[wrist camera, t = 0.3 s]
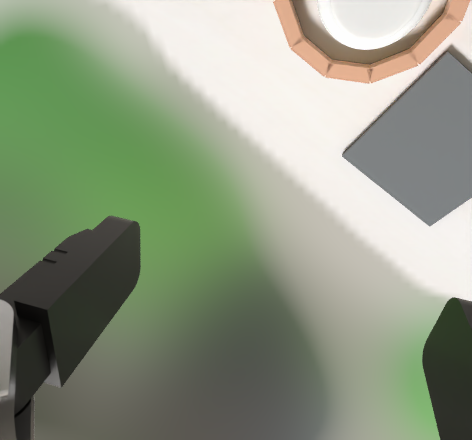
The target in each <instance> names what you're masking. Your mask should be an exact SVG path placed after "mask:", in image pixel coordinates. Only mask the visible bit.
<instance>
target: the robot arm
mask: <svg viewBox="0 0 472 440" xmlns="http://www.w3.org/2000/svg"><path fill="white" fill-rule="evenodd" d="M139 274H140V226H139V224H138V222H136V221H131V220H127V219H123V218H119V217H114V216H108V217H107V218H106V219H104V220H103V221H102V222H101V223H100V224H99V225H98V226H97V227H95V228H94V229H93V230H89V229H86V230H83V231H81V232H79V233H77V234H74V235H72V236H69V237H68V238H67V239H65V240H64V241H63V242H62V243H61V244H59V245H58V246H57V247H56V248H55V250H54V251H51V252H50V253H49V254H47V255H46V256H45V257H44V258H43V261H39V262H38V263H37V264H36V265H34V266H33V267H32V268H31V269H29V270H28V271H27V272H26V273H25V274H23V275H22V276H21V277H20V278H19V279H18V280H16V281H15V282H14V283H13V284H12V285H10V286H9V287H8V288H7V289H6V290H4V291H3V292H2V293H1V294H0V440H34V426H35V424H34V419H35V411H34V410H35V401H34V394H35V392H36V391H37V390H38V388H39V387H40V386H41V385H42V383H43V382H44V383H48V384H51V385H54V386H57V387H60V388H61V387H62V386H63V385H64V383H65V382H66V381H67V379H68V378H69V377H70V375H71V374H72V373H73V371H74V370H75V368H76V367H77V365H78V364H79V363H80V362H81V360H82V359H83V358H84V356H85V355H86V353H87V352H88V351H89V349H90V348H91V347H92V345H93V344H94V343H95V341H96V340H97V338H98V337H99V336H100V334H101V333H102V332H103V330H104V329H105V327H106V326H107V325H108V324H109V322H110V321H111V319H112V318H113V317H114V315H115V314H116V313H117V311H118V310H119V309H120V307H121V306H122V304H123V303H124V302H125V300H126V299H127V298H128V296H129V295H130V293H131V292H132V291H133V289H134V288H135V286H136V284H137V281H138V278H139ZM422 362H423V369H424V373H425V377H426V381H427V386H428V390H429V394H430V398H431V402H432V407H433V411H434V415H435V419H436V423H437V428H438V432H439V436H440V440H472V301H467V300H463V299H459V298H451V299H450V300H449V301H448V302H447V303H446V305H445V307H444V309H443V311H442V312H441V315H440V316H439V318H438V320H437V322H436V324H435V326H434V327H433V329H432V331H431V333H430V335H429V337H428V338H427V341H426V343H425V346H424V349H423V359H422Z"/></svg>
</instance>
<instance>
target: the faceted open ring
mask: <svg viewBox="0 0 472 440" xmlns="http://www.w3.org/2000/svg"><path fill="white" fill-rule="evenodd" d="M469 2H470V0H447V3H446V6H445V9H444V12H443V14H442V15H441V16H440V17H439V18H438V19H437V20H436V21H435V22H434V23H433V24H432V25H431V27H430V28H429V29H428V30H427V31H426V32H425V33H424V34H423V35H422V36H421V37H420V38H419V39H418V40H417V41H416V42H415V43H414V45H413V46H412V47H411V48H410V49H408V50H405V51H403V52H400V53H398V54H395V55H393V56H390V57H388V58H385V59H383V60H380V61H377V62H375V63H372V64H370V65H369V64H361V63H354V62H346V61H339V60H332V59H331V58H330V57H329V56H327V55H326V54H325V53H324V52H323V51H321V50H320V49H319V48H318V47H317V46H316V45H314V44H313V43H312V42H311V41H310V40H308V39H307V38H306V37H305V36H304V34H303V31H302V29H301V26H300V23H299V20H298V17H297V14H296V11H295V8H294V5H293V2H292V0H276V1H274V2H273V3H274V6H275V8H276V11H277V14H278V17H279V19H280V22H281V25H282V28H283V30H284V33H285V36H286V39H287V42H288V44H289V47H292V48H291V50H293V51H294V52H295V53H296V54H297V55H299V56H300V57H301V58H302V59H303V60H304V61H306V62H307V63H308V64H309V65H310V66H312V67H313V68H314V69H315V70H316V71H318V72H319V73H320V74H321V75H322V76H325V75H326V78H333V79H340V80H347V81H354V82H361V83H369V82H371V83H373V82H376V81H379V80H381V79H384V78H387V77H389V76H392V75H395V74H397V73H400V72H403V71H405V70H408V69H411V68H413V67H416V66H418V64H421V63H422V62H423V61H424V60H425V59H426V58H427V57H428V56H429V55H430V54H431V53H432V52H433V51H434V50H435V49H436V48H437V47H438V46H439V45H440V44H441V43H442V42H443V41H444V40H445V39H446V38H447V37H448V36H449V35H450V34H451V33H452V32H453V31H454V30H455V29H456V28H457V27H458V26H459V25H460V24H461V22H459V21H462V20H463V18H464V15H465V12H466V10H467V7H468V5H469Z"/></svg>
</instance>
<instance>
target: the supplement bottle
mask: <svg viewBox="0 0 472 440" xmlns="http://www.w3.org/2000/svg"><path fill="white" fill-rule="evenodd" d="M431 1H432V0H317V6H318V11H319V15H320V18H321V20H322V22H323V24H324V26H325V28H326V29H327V31H328V32H329V33H330V34H331V35H332V36H333V37H334V38H335V39H336V40H337V41H339V42H340V43H342V44H344V45H346V46H348V47H351V48H355V49H362V50H370V49H377V48H382V47H385V46H387V45H390V44H392V43H394V42H396V41H398V40H399V39H401V38H402V37H404V36H405V35H406V34H407V33H409V32H410V31H411V30H412V29H413V28H414V27H415V26H416V25H417V24H418V22H419V21H420V20H421V19H422V17H423V16H424V14H425V12H426V11H427V9H428V7H429V5H430V3H431Z"/></svg>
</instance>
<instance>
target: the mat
mask: <svg viewBox="0 0 472 440" xmlns="http://www.w3.org/2000/svg"><path fill="white" fill-rule="evenodd" d="M342 157H344V158H345V159H346V160H347V161H349V162H350V163H351V164H352V165H354V166H355V167H356V168H357V169H359V170H360V171H361V172H362V173H364V174H365V175H366V176H367V177H369V178H370V179H371V180H372V181H374V182H375V183H376V184H377V185H379V186H380V187H381V188H382V189H384V190H385V191H386V192H387V193H389V194H390V195H391V196H392V197H394V198H395V199H396V200H397V201H399V202H400V203H401V204H402V205H404V206H405V207H406V208H407V209H409V210H410V211H411V212H412V213H413V214H415V215H416V216H417V217H418V218H420V219H421V220H422V221H423V222H425V223H426V224H427V225H428V226H431V225H433V224H434V223H436V222H437V221H439V220H440V219H441V218H443V217H444V216H446V215H447V214H449V213H450V212H451V211H453V210H454V209H456V208H457V207H459V206H460V205H462V204H463V203H464V202H466V201H467V200H469V199H470V198H472V73H471V72H470V71H469V70H468V69H466V68H465V67H464V66H463V65H462V64H461V63H460V62H459V61H458V60H457V59H455V58H454V57H453V56H452V55H451V54H450V53H449V52H448V51H447V52H446V53H445V54H444V55H443V56H442V57H440V58H439V59H438V60H437V61H436V62H435V63H434V64H433V65H432V66H431V67H430V68H429V69H428V70H427V71H426V72H425V73H424V74H423V75H422V76H421V77H420V78H419V79H418V80H417V81H416V82H415V83H414V84H413V85H412V86H411V87H410V88H409V89H408V90H407V91H406V92H405V93H404V94H403V95H402V96H401V97H400V98H399V99H398V100H397V101H396V102H395V103H394V104H393V105H392V106H391V107H390V108H389V109H388V110H387V111H386V112H385V113H384V114H383V115H382V116H381V117H380V118H379V119H378V120H377V121H376V122H375V123H373V124H372V125H371V126H370V127H369V128H368V129H367V130H366V131H365V132H364V133H363V134H362V135H361V136H360V137H359V138H358V139H357V140H356V141H355V142H354V143H353V144H352V145H351V146H350V147H349V148H348V149H347V150H346V151H345V152H344V153H343V154H342Z"/></svg>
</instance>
